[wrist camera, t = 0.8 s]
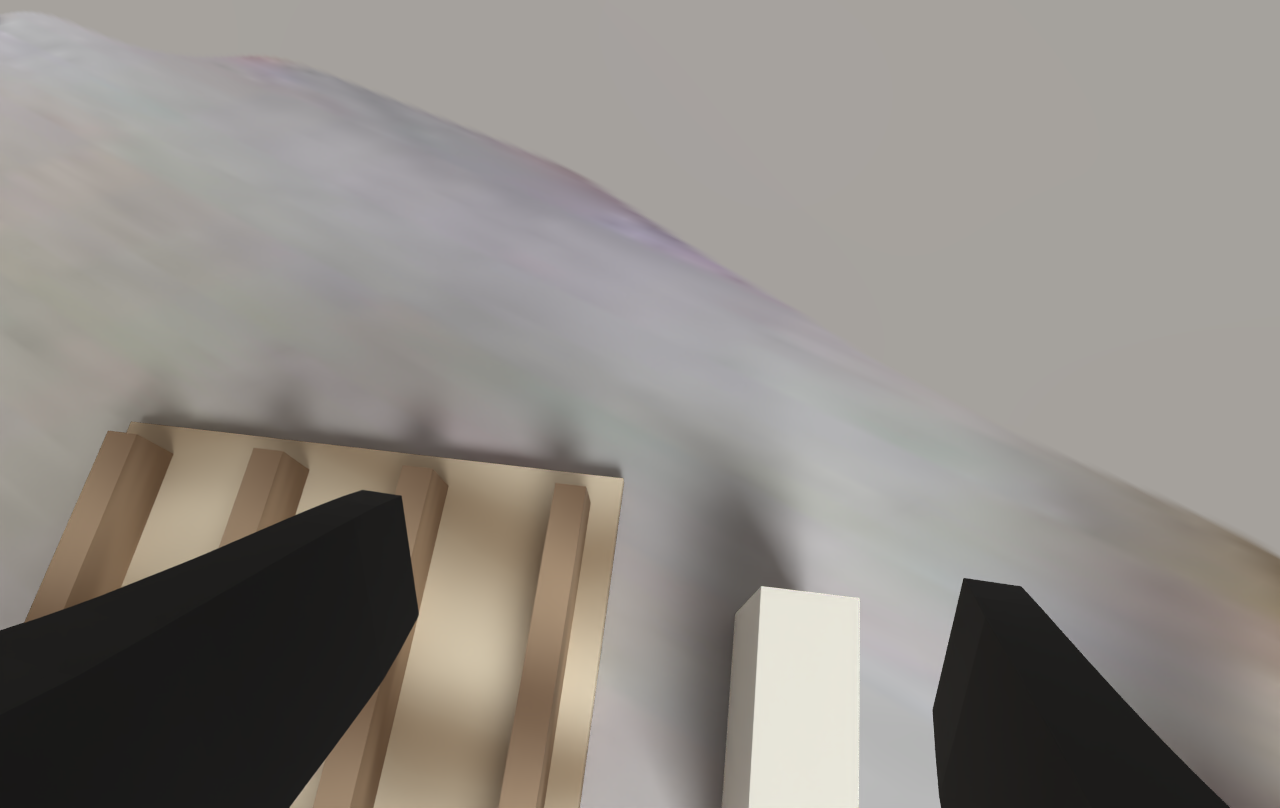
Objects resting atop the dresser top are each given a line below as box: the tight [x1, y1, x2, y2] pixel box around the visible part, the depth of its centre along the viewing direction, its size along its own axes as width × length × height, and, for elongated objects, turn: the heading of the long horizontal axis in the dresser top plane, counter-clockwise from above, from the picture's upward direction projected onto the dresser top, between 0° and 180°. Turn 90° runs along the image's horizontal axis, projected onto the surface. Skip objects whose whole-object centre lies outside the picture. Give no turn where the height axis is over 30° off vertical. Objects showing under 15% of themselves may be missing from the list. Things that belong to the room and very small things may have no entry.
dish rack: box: [24, 422, 624, 808], centre depth 22 cm, size 16×18×3 cm
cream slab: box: [722, 586, 860, 808], centre depth 20 cm, size 8×2×6 cm, turn 173°
